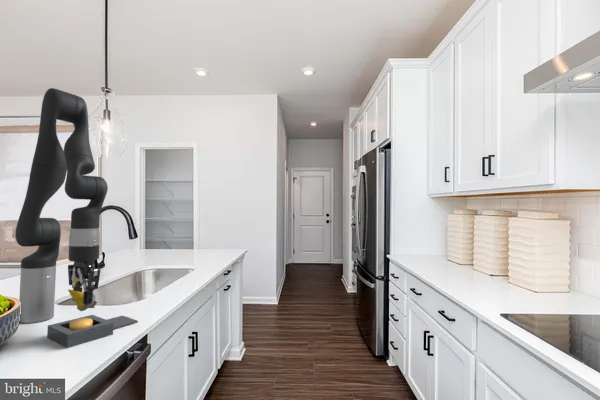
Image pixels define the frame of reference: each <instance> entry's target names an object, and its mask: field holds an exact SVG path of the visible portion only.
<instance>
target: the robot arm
mask: <svg viewBox="0 0 600 400" xmlns="http://www.w3.org/2000/svg"><path fill="white" fill-rule="evenodd" d="M40 109H41V110H40V111H41V112H40V117H39V128H38V129H39V130H38V135H37V141H36V145H35V151H34V154H33V158H32V162H31V167H30V173H29V179H28V184H27V190H26V194H25V198H24V201H23V204H22V208H21V211H20V214H19V218H18V221H17V224H16V228H15V242H16V243H17V245H19V246H20V247H25V248H26V247H29V248H30V247H38V248H37V249H36V250H35V252H33V253H31V254H29V255H27V256H25V257H23V258H22V259H21V261H20V281H19V282H20V283H19V300H20V302H21V314H20V322H19V323H22V324H31V323H32V324H33V323H40V322H44V321H47V320H50V319H53V318H54V315H55V301H56V297H55V296H56V280H57V279H56V277H57V276H56V274H57V273H56V271H57V260H58V258H59V254H60V244H61V237H62V236H61V234H62V231H61V225H60V222H59V221H58V220H57V219H56V218H53V217H41V214H42V211H43V209H44V207H45V206H46V203H47V202H48V201H50V199H51V198H52V197H53V196H54V195H55V194H56V193H57V192H58V191H59V190H60V189H61V188H62V186H63V185H64V192H65V194H66V195H67V197H68V198H70V199H72V200H89V203H87V205H85V206H81V207H76V208H73V209H72V211H71V214H70V215H71V217H70V231H69V236H68V240H69V241H68V261H69V262H72V263H73V264H68V265H67V270H68V271H67V275H68V277H67V278H68V286H71V289H72V290H74V291H79V292H83V304H84V305H87V304H91V303H92V300H93V294H94V290H97V289H98V288H99V282H100V278H101V277H100V276H101V268H95V261H97V260H99V259H100V244H101V243H100V241H101V233H100V217H101V212H102V208H103V206H104V205H103V204H104V201H105V200H106V197H107V194H108V188H109V187H108V182H107V181H106V180H105V178H103V177H102V176H97V175H94V176H93V175H89V174H91V173H93V172H94V170H95V169H96V164H95V160H94V156H93V153H92V148H91V143H90V131H89V130H90V129H89V126H90V125H89V115H88V114H89V112H88V106H87V102H86V101H85V99H84V98H83V97H81V96H79V95H76V94H74V93H70V92H67V91H64V90H61V89H57V88H53V87H51V88H48V89H47V90H46V91H45V93H44V95H43V98H42V102H41V108H40ZM57 120H58V121H62V122H64V123H65V122H66V123H71V124H72V125H73V128H74V130H73V132H72V133H71V134H70V136H69V137H68V138H67V139H66V141H65V143H64V146H63V147H62V144H61V143H60V140H59V137H58V135H57V134H58V133H57ZM19 300H18V301H19ZM72 301H73V302H75V301H74V299H73V298H72Z"/></svg>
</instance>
